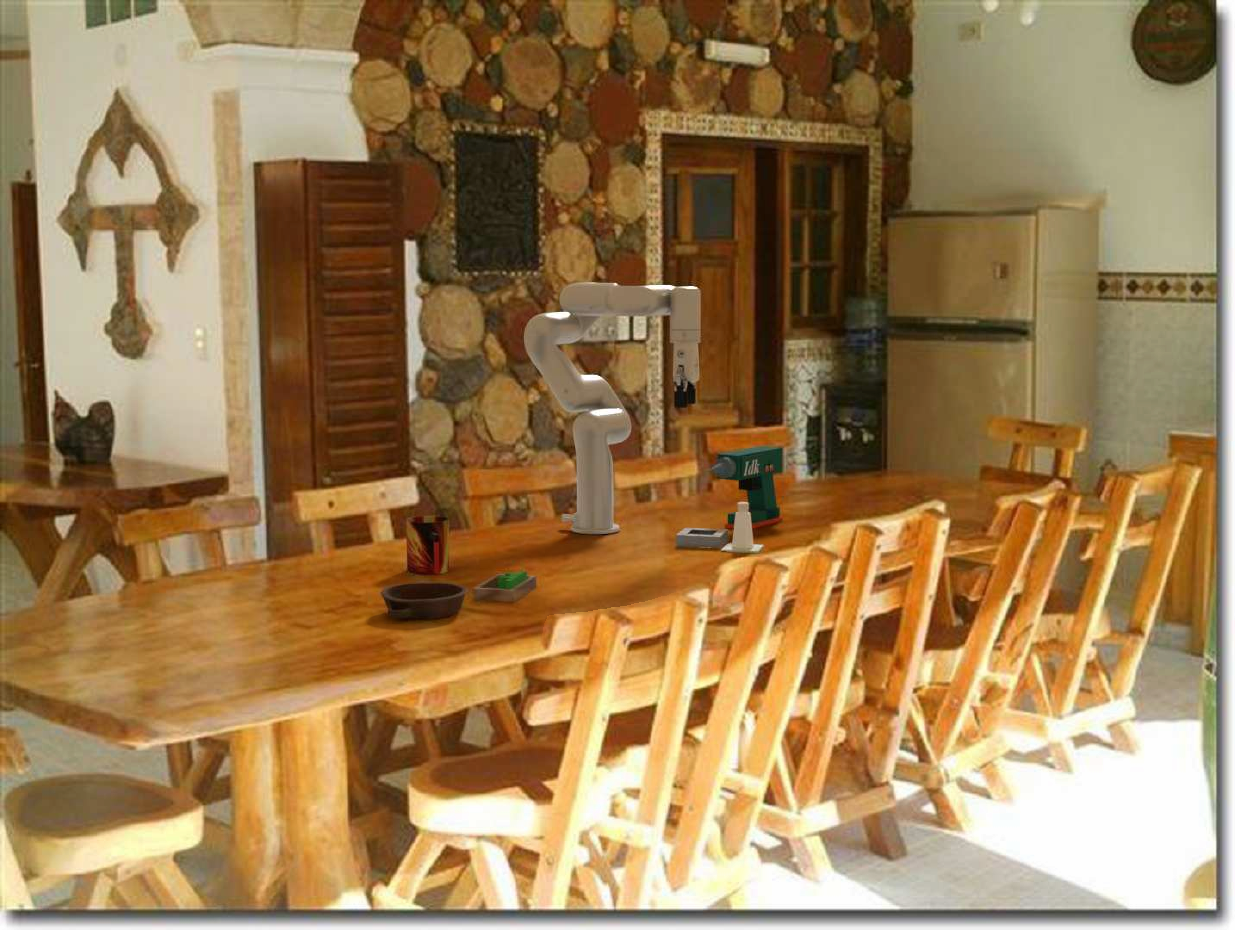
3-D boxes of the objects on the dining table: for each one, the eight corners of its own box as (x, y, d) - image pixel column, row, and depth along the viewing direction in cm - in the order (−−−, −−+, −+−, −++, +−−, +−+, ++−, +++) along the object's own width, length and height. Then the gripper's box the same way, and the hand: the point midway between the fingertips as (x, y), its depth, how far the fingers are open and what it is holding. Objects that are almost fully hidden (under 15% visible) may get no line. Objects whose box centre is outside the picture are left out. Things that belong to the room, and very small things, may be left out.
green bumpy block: (510, 590, 363) (510, 569, 363) (527, 591, 363) (526, 570, 362) (493, 600, 353) (493, 579, 352) (510, 601, 352) (510, 580, 351)
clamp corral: (473, 600, 353) (472, 588, 352) (497, 585, 368) (497, 573, 368) (513, 602, 350) (513, 590, 350) (536, 587, 366) (536, 575, 366)
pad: (721, 551, 408) (721, 549, 408) (727, 545, 416) (727, 543, 416) (757, 553, 405) (757, 551, 405) (763, 546, 414) (763, 544, 414)
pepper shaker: (746, 549, 407) (746, 504, 406) (727, 547, 410) (727, 502, 409) (758, 546, 412) (758, 502, 410) (739, 544, 415) (739, 500, 413)
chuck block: (675, 547, 414) (675, 535, 414) (685, 539, 425) (685, 527, 424) (719, 548, 411) (719, 536, 411) (728, 541, 422) (728, 529, 421)
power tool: (718, 537, 427) (718, 459, 425) (695, 534, 432) (695, 457, 429) (784, 521, 453) (785, 447, 450) (762, 518, 457) (762, 445, 454)
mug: (436, 579, 375) (435, 526, 373) (398, 570, 385) (397, 519, 383) (469, 573, 382) (469, 521, 380) (431, 565, 391) (430, 514, 390)
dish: (356, 619, 336) (355, 595, 335) (422, 599, 354) (422, 576, 354) (426, 629, 327) (425, 604, 326) (490, 608, 346) (490, 584, 345)
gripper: (693, 338, 406) (692, 409, 408) (707, 335, 422) (706, 402, 424) (662, 338, 407) (662, 408, 410) (678, 334, 424) (677, 402, 426)
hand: (685, 405), depth 417 cm, fingers open, 9 cm apart
